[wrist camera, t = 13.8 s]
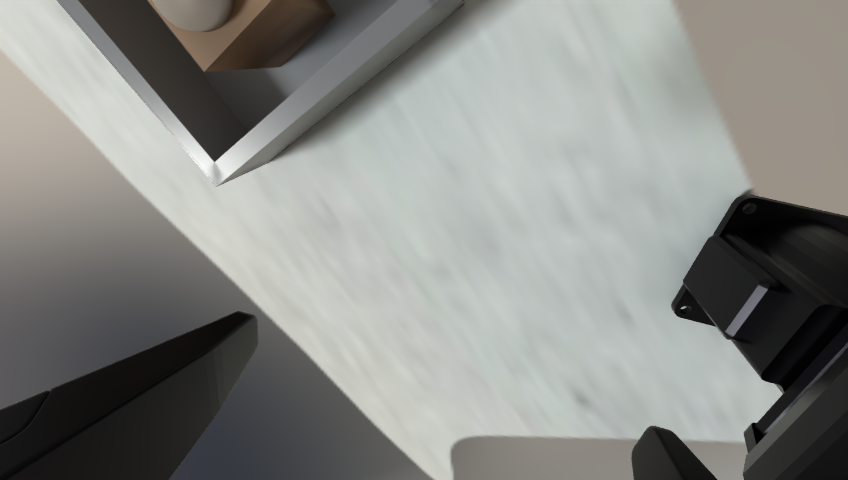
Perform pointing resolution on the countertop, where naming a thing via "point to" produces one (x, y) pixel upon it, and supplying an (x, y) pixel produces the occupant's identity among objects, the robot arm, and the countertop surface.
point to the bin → (252, 75)
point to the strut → (243, 29)
